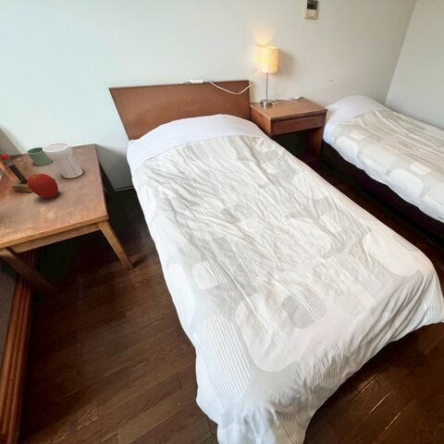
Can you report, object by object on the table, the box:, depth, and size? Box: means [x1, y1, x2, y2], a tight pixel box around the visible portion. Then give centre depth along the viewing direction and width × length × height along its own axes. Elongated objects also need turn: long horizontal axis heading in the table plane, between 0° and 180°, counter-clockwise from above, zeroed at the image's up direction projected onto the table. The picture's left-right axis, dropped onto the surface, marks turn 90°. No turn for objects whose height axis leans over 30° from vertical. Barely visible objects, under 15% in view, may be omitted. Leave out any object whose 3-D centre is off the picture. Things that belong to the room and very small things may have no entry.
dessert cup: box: [26, 146, 53, 167], centre depth 147 cm, size 8×8×8 cm
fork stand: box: [10, 176, 33, 193], centre depth 130 cm, size 8×8×4 cm
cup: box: [42, 141, 84, 180], centre depth 137 cm, size 11×11×17 cm
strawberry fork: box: [0, 151, 27, 184], centre depth 124 cm, size 4×4×20 cm
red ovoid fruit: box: [27, 173, 59, 199], centre depth 123 cm, size 10×10×14 cm
